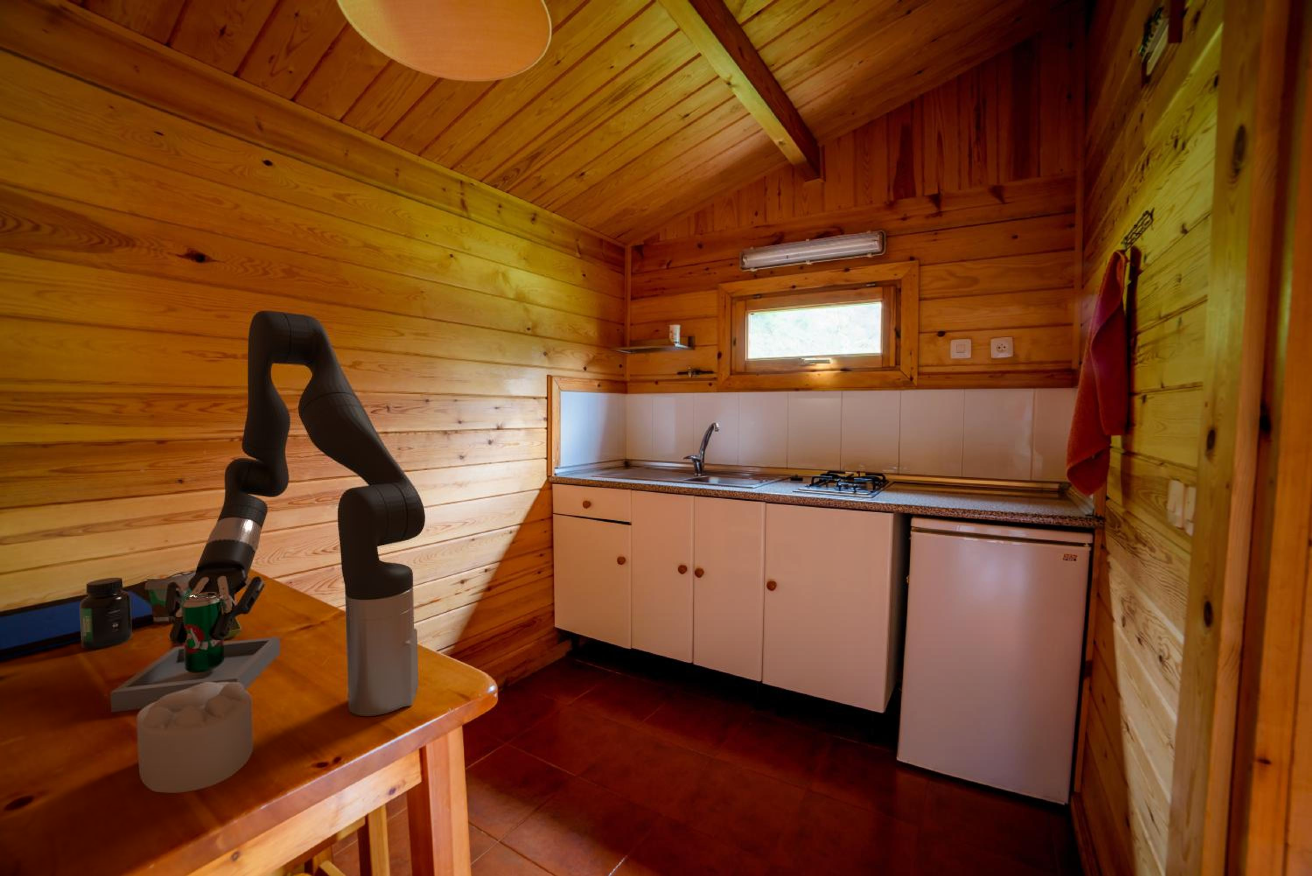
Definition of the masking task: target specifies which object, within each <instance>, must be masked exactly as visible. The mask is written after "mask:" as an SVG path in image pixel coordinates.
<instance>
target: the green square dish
mask: <svg viewBox="0 0 1312 876" xmlns="http://www.w3.org/2000/svg"><path fill="white" fill-rule="evenodd" d="M242 629H243V628H242V625H241V624H240V622H239V620H238V617H235V618H234V620H233V622H232V626H231V629H230V632H229V634H228V635H227V636H224V640H227V639H232V638H236V637H237V635H239V634H240V632H241V631H242Z"/></svg>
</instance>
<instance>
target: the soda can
mask: <svg viewBox="0 0 1312 876" xmlns="http://www.w3.org/2000/svg"><path fill="white" fill-rule="evenodd" d="M221 614H223V608H222V599H221V598H220V597H219V593H218V592H204V593H199V594H194V595H191V596H189V597H186V598H185V602H184V604H183V605H182V620H183V646H184V663H185V670H187V671H188V672H190V673H201V672H206V671H209V670H212V669H214V668H217V667H218V666H220V665H221V664H222V663H223V661H224V642H225V641H224V640H225V639H223V640H218V641H217V640H216V639H215V638H214V637H213V633H214V630H215V628H216V625H217V622H218V619H219V617H220V615H221Z"/></svg>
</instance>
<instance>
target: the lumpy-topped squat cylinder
mask: <svg viewBox="0 0 1312 876" xmlns="http://www.w3.org/2000/svg"><path fill="white" fill-rule="evenodd" d="M252 707H253V706H252V697H251V695H250V694H249V692H248V691H247V690H246V689H244V686H243V685H242V684H241V683H239V682H219V683H214V682H204V683H201V684H198V685H195V686H193V687H190V688H188V689H185V690H180V691H177V692H174V693H170V694H167V695H165V696H163V697H161V698H160V699H159V700H158V701H156V702H154V703H151V704H149V705H148V706H146V707H144V708H143V709H140V711H138V713H137V715H136V733H137V750H138V751H137V752H138V755H137V757H138V769H139V770H138V772H139V776H140V780H141V781H142V783H143V784H144V786H145V787H147V788H148V789H149V790H151V791H153V792H157V793H169V794H170V793H172V794H173V793H174V794H175V793H185V792H190V791H191V792H192V791H197V790H202V789H204V788H208V787H211V786H214V785H217V784H219V783H221V782H223V781H224V780H227V779H229V778H230V777H232V776H234V774H236V773H237V772H238V771H240V770H241V768H243V767H244V765H246V763H247V762H248V761H249V759H250V757H251V756H252V752H253V750H254V740H253V738H254V737H253V712H252V709H253V708H252Z"/></svg>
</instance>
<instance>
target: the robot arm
mask: <svg viewBox="0 0 1312 876" xmlns="http://www.w3.org/2000/svg"><path fill="white" fill-rule="evenodd" d="M273 364H278V365H280V364H281V365H298V366H299V365H300V366H305V367H306V368H308V369H309V370H310V372H311V377H310V379H309V382H308V383H307V385H306V386H305V388H304V390H303V392H302V394H301V396H300V398H299V401H298V405H297V412H298V416H299V419H300V421H301V423H302V425H303V427H304V430H305V431H306V433H307V436H308V437H309V439H310V441H311V443H312V444H313V445H314V446H315V447H316V448H317V450H318V451H321V453H323V454H324V455H325V456H327V457H329V458H330V459H331V460H333V461H335V462H336V463H338V465H339V464H340V465H341V466H343V467H344V468H346V469H348V470H350V471H351V472H353V473H354V474H356V475H357V476H358V477H360V478H361V480H363V481H364V482H365V483H366V484H367V485H363V486H355V487H350V488H348V489H346V490H345V491H344V492H343V493H342V495H341V496H340V497H339V501H338V504H337V505H338V506H337V527H338V528H337V529H338V540H339V550H340V551H339V552H340V565H341V573H342V578H343V583H344V593H345V598H344V599H345V600H344V601H345V628H346V629H345V634H346V635H345V636H346V637H345V638H346V639H345V640H346V665H347V666H346V667H347V668H346V669H347V671H346V672H347V701H348V711H349V712H351V714H353V715H356V716H362V717H373V716H379V715H380V716H381V715H384V714H385V715H386V714H388V713H391V712H394V711H397V710H399V709H402V708H404V707H411V706H412V705H413V703H414V701H415V697H416V694H417V692H418V689H419V662H418V661H419V660H418V658H419V655H418V652H419V651H418V650H419V649H418V630H417V628H415V610H414V607H415V606H414V601H415V600H414V572H413V569H412V568H411V567H410V566H409V565H406V564H403V563H397V562H388V561H382V560H381V559H380V555H379V549H378V547H382V546H386V545H392V544H396V543H402V542H406V541H409V540H412V539H414V538H416V537H417V536H420V534H421V533H422V532H423V530H424V528H425V523H426V514H425V513H426V512H425V507H424V504H423V501H422V498H421V496H420V494H419V492H418V490H417V489H416V486H415V485H414V484H413V483H412V481H411V480H410V478H409V477H408V476H407V475H406V473H405V472H404V470H403V469H402V467H401V466H400V465H399V464H398V462H397V461H396V460H395V459H394V457H393V455H392V454H391V453H390V452H389V450H388V449H387V447H386V445H385V443H384V442H383V441H382V439H381V436H380V435H379V434H378V431H377V430H376V428H375V427H374V425H373V423H372V421H371V419H370V417H369V414H368V413H367V411H366V410H365V408H364V406H363V404H362V402H361V401H360V399H359V397H358V396H357V394H356V393H355V391H354V389H353V387H352V386H351V384H350V382H349V380H348V379H347V376H346V375H345V373H344V370H343V368H342V366H341V364H340V363H339V360H338V358H337V355H336V353H335V351H334V348H333V345H332V343H331V341H330V338H329V335H328V334H327V332H326V329H325V328H324V326H323V324H322V323H321V322H320V321H319V319H317V318H315V317H313V316H310V315H306V314H301V313H294V312H293V313H292V312H286V311H285V312H283V311H274V310H259V311H257V312H256V313H255V314H254V315H253V316H252V318H251V321H250V325H249V331H248V338H247V413H246V419H245V424H244V429H243V430H244V431H243V436H242V440H241V450H242V451H243V453H244V454H245V455H246V456H248V457H238V458H236V459H233V460H232V461H231V462H230V463H228V465H227V466H226V468H225V471H224V500H223V505H222V508H221V510H220V514H219V515H218V518H217V520H216V523H215V524H214V527H213V529H212V530H211V532H210V534H209V535H208V539H207V540H206V543H205V545H204V548H203V551H202V554H201V555H200V557H199V561H198V563H197V566H196V569H195V570H196V573H195V575H194V576H193V577H192V578H191V579H190V580H189V582H186V583H181V584H177V583H175V582H172V583H170V584H169V585H168V587H167V594H166V602H165V610H164V613H165V614H166V615H167V616H168V617H169V618H170V619H171V620H175V622H174V624H172V628H171V630H170V632H169V635H168V636H169V639H171V642H173V643H174V644H175V645H182V644H184V641H183V620H182V607H181V602H182V597H184V596H185V594H186V592H187V591H188V590H189V589H191V591H192V592H191V593H190V595H189V596H191V595H194V594H199V593H204V592H218V593H219V597H220V598H221V599H222V613H223V614H221V615H220V617H219V619H218V622H217V625H216V628H215V630H214V633H213V637H214V638H215V639H216V640H217V641H218V640H223V639H224V636H227V635H228V634H229V632H230V629H231V626H232V622H233V620H234V618H237V616H240V615H248V614H249V613H250V612H251V610H252V608H253V607H254V606H255V603H256V601H257V600H258V598H259V597H260V594H261V593H262V591H263V589H264V588H265V587H266V584H265V582H264V581H263V579H262V578H261V577H260V576H259V575H257V576H254V577H248V575H249V573H250V572H251V568H252V564H253V561H254V558H255V555H256V553H257V551H258V548H259V544H260V538H261V533H262V529H263V526H264V524H265V521H266V517H267V516H268V515H267V514H268V510H269V508H268V504H267V503H266V501H264V500H262V499H261V498H260V497H266V498H276V497H279V496H281V495H282V494H283V493H284V492H285V491H286V490H287V488H288V485H289V482H290V473H289V468H288V463H287V457H286V448H287V441H288V437H289V433H290V428H291V415H290V412H289V409H288V407H287V405H286V403H285V401H284V399H283V398H282V396H281V395H280V393H279V392H278V390H277V388H276V386H275V384H274V382H273V378H272V367H273ZM249 457H250V458H249ZM257 496H258V497H257ZM243 588H245V591H244V592H243V594H242V596H241V597H240V599H239V601H238V602H237V600H236V599H237V598H236V595H237V594H238V593H239V592H240V591H241V590H243ZM189 596H188V597H189ZM224 640H225V639H224ZM417 688H418V689H417Z"/></svg>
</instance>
